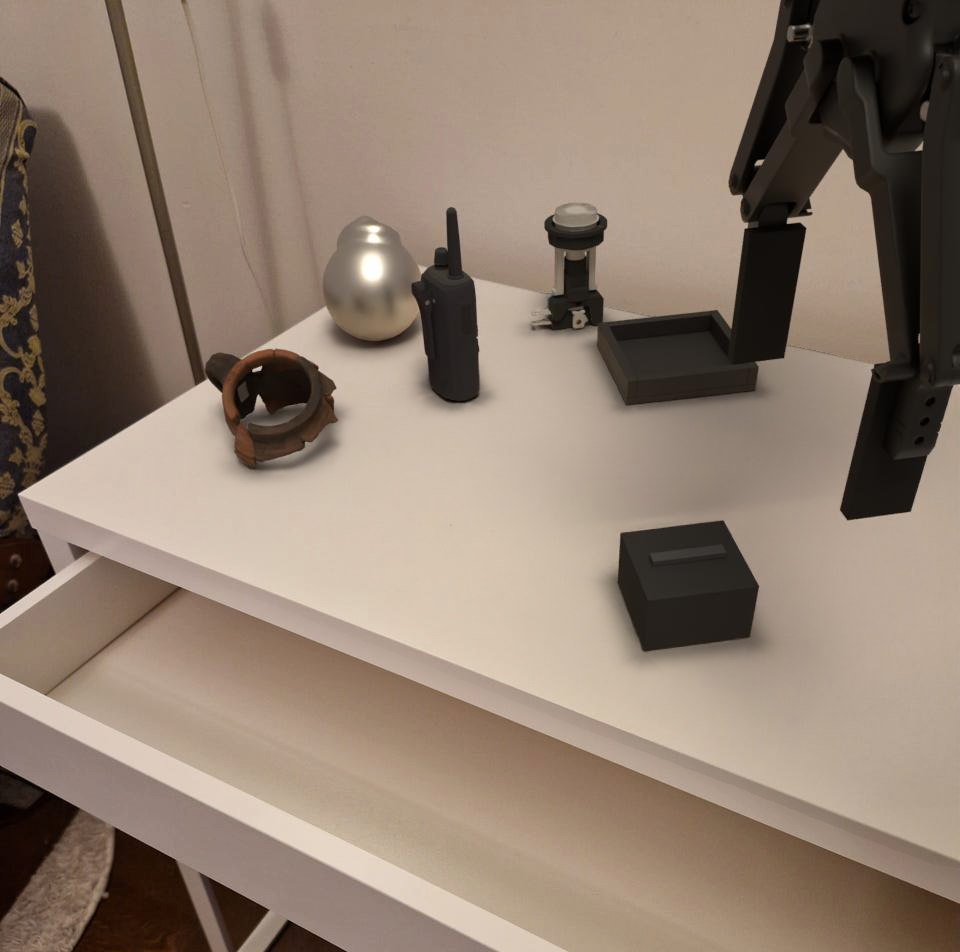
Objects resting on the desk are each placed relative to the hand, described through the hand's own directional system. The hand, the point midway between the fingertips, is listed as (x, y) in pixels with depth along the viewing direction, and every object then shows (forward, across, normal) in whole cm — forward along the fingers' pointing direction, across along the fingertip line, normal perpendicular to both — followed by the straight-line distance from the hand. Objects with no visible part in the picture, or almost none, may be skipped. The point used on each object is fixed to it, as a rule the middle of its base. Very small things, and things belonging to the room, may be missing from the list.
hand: (808, 427), depth 46 cm
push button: (+16, -47, -1) cm, 49 cm away
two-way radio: (+16, -37, -13) cm, 42 cm away
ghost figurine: (+16, -49, -18) cm, 55 cm away
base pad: (+16, -36, +6) cm, 40 cm away
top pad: (+16, -7, -2) cm, 18 cm away
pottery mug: (+16, -33, -27) cm, 46 cm away
